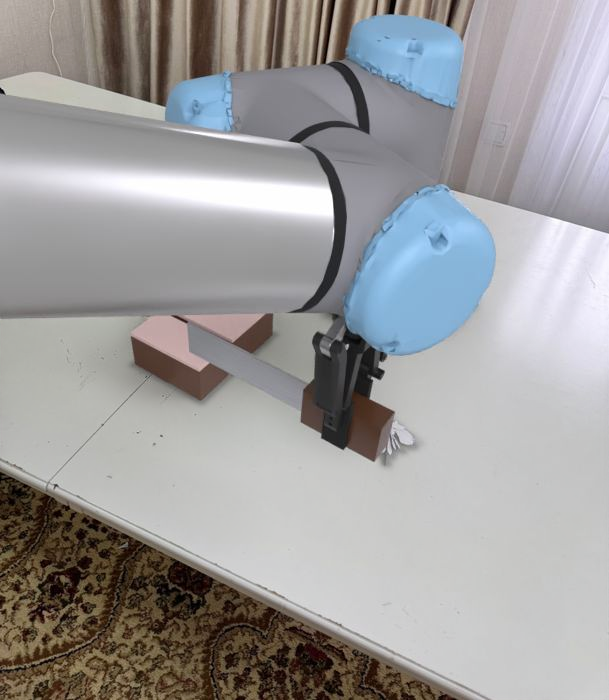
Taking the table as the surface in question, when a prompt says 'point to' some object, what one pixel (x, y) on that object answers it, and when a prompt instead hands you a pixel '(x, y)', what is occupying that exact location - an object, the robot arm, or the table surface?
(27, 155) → the robot arm
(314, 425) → the cake knife
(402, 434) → the flower
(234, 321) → the cake
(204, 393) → the cake slice
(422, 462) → the table surface
